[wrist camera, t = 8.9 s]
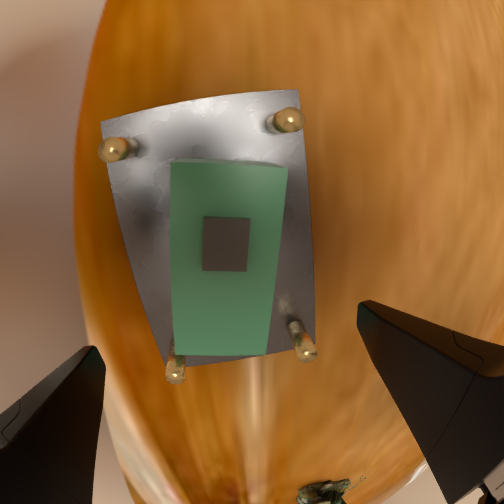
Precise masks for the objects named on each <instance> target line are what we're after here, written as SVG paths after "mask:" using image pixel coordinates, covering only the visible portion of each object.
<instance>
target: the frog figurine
mask: <svg viewBox="0 0 504 504" xmlns="http://www.w3.org/2000/svg"><path fill="white" fill-rule="evenodd" d="M364 467H365V466H364ZM365 469H366V468H365ZM368 474H369V473H368ZM361 478H362V476H361ZM361 478H360V479H361ZM364 480H365V478H364ZM364 480H363V481H364ZM349 485H350V480H349V479H344V480H340V481H332V482H331V481H327V482H322V483H317V484H312V485H308V486H306V487H303V488H301V489H300V490H298V493H299V495H298V496H297V502H298V504H346V503H345V501H344V500H343V499H342V497H343V496H344V495H345V492H346V489H348V487H349ZM356 486H357V485H356ZM356 486H354V487H356ZM354 487H352V488H354ZM348 490H349V489H348ZM350 490H351V489H350Z"/></svg>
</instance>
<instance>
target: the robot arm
mask: <svg viewBox="0 0 504 504" xmlns="http://www.w3.org/2000/svg"><path fill="white" fill-rule="evenodd" d="M357 328H358V330H359V333H360V335H361V337H362V339H363V342H364V344H365V346H366V348H367V351H368V353H369V355H370V358H371V360H372V362H373V364H374V366H375V368H376V369H377V371H378V373H379V374H380V376H381V378H382V380H383V381H384V383H385V385H386V387H387V388H388V390H389V392H390V394H391V395H392V397H393V399H394V401H395V403H396V404H397V406H398V408H399V410H400V412H401V413H402V415H403V417H404V419H405V421H406V423H407V424H408V426H409V428H410V430H411V432H412V434H413V436H414V437H415V439H416V441H417V443H418V445H419V447H420V449H421V451H422V453H423V455H424V457H425V458H426V461H427V463H428V465H429V467H430V469H431V471H432V473H433V475H434V477H435V479H436V481H437V483H438V485H439V486H440V489H441V491H442V493H443V495H444V497H445V499H446V501H447V503H448V504H455V503H456V502H458V501H459V500H461V499H462V498H464V497H465V496H467V495H468V494H470V493H471V492H472V491H474V490H475V489H476V488H481V490H482V491H483V493H484V495H483V496H482V497H480V498H479V501H478V504H504V346H502V345H498V344H494V343H491V342H487V341H484V340H480V339H477V338H473V337H470V336H468V335H465V334H462V333H459V332H456V331H454V330H453V331H452V330H451V329H448V328H445V327H443V326H440V325H437V324H434V323H432V322H429V321H426V320H424V319H421V318H418V317H415V316H413V315H410V314H407V313H405V312H402V311H399V310H396V309H394V308H391V307H388V306H386V305H383V304H380V303H378V302H375V301H372V300H366V301H362V302H360V303H359V304H358V311H357ZM105 374H106V366H105V363H104V361H103V359H102V357H101V355H100V353H99V351H98V349H97V348H96V347H95V346H84V347H83V348H81V349H80V350H79V351H78V352H77V353H75V354H74V355H73V356H71V357H70V358H69V359H68V360H66V361H65V362H64V363H63V364H61V365H60V366H59V367H58V368H56V369H55V370H54V371H53V372H52V373H50V374H49V375H48V376H47V377H45V378H44V379H43V380H42V381H40V382H39V383H38V384H37V385H36V386H34V387H33V388H32V389H31V390H29V391H28V392H27V393H26V394H25V395H24V396H22V397H21V399H19V400H17V401H16V402H15V403H14V404H13V405H11V406H10V407H9V408H8V409H6V410H5V411H4V412H3V413H1V414H0V504H92V494H93V480H94V469H95V459H96V450H97V442H98V435H99V428H100V421H101V415H102V409H103V400H104V386H105Z"/></svg>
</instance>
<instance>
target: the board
mask: <svg viewBox="0 0 504 504" xmlns="http://www.w3.org/2000/svg"><path fill="white" fill-rule="evenodd" d="M287 175H288V168H285V167H283V166H280V165H277V164H274V163H267V162H255V161H240V160H221V159H195V158H179V159H177V160H175V161H172V162H171V167H170V206H169V239H170V279H171V301H172V317H173V331H174V344H175V355H205V356H240V355H266V349H267V342H268V335H269V327H270V320H271V312H272V305H273V297H274V289H275V281H276V273H277V265H278V257H279V248H280V240H281V231H282V222H283V213H284V204H285V194H286V185H287Z"/></svg>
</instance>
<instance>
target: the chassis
mask: <svg viewBox="0 0 504 504" xmlns="http://www.w3.org/2000/svg"><path fill="white" fill-rule="evenodd" d="M304 123H305V117H304V114H303V113H302V111H301V109H300V101H299V93H298V89H293V90H274V91H260V92H249V93H240V94H231V95H223V96H216V97H209V98H202V99H196V100H190V101H185V102H180V103H174V104H169V105H165V106H160V107H155V108H151V109H147V110H143V111H138V112H134V113H131V114H127V115H123V116H119V117H116V118H112V119H109V120H106V121H102V122H100V124H101V131H102V138H103V141H102V142H101V143H100V145H99V148H98V154H99V157H100V159H101V160H102V161H104V162H106V163H107V169H108V174H109V179H110V184H111V189H112V194H113V199H114V203H115V208H116V212H117V216H118V221H119V225H120V229H121V233H122V237H123V240H124V244H125V248H126V252H127V255H128V259H129V262H130V266H131V269H132V272H133V276H134V279H135V282H136V285H137V289H138V292H139V295H140V298H141V301H142V304H143V307H144V310H145V313H146V316H147V319H148V321H149V324H150V327H151V330H152V332H153V335H154V338H155V340H156V343H157V346H158V348H159V351H160V353H161V356H162V358H163V361H164V363H165V366H166V375H165V378H166V380H167V381H168V382H170V383H172V384H180V383H182V382H184V380H185V367H189V366H198V365H205V364H212V363H219V362H226V361H232V360H239V359H245V358H250V357H256V356H261V355H240V356H205V355H175V344H174V331H173V317H172V301H171V279H170V239H169V206H170V167H171V162H172V161H175V160H177V159H179V158H195V159H221V160H240V161H255V162H267V163H274V164H277V165H280V166H283V167H285V168H288V175H287V185H286V194H285V204H284V213H283V222H282V231H281V240H280V248H279V257H278V265H277V273H276V281H275V289H274V297H273V305H272V312H271V320H270V327H269V335H268V342H267V349H266V355H267V354H272V353H277V352H282V351H287V350H292V349H295V351H296V354H297V356H298V359H299V361H301V362H303V363H308V362H311V361H313V360H314V359H315V358H316V356H317V351H316V349H315V347H314V344H315V297H314V267H313V245H312V227H311V212H310V198H309V185H308V174H307V163H306V153H305V143H304V134H303V126H304Z"/></svg>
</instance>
